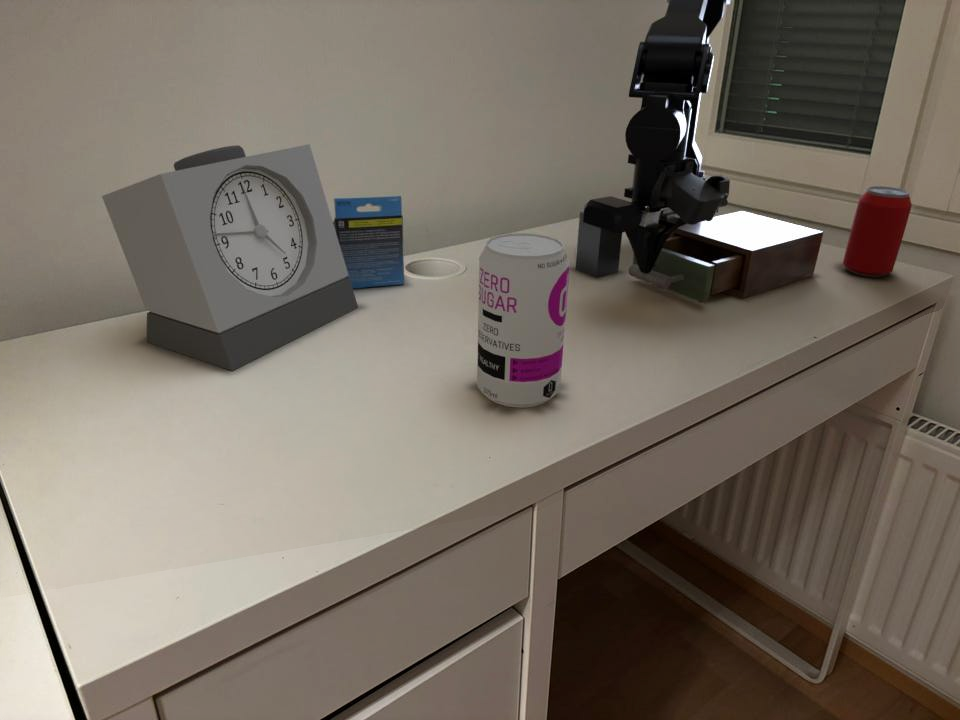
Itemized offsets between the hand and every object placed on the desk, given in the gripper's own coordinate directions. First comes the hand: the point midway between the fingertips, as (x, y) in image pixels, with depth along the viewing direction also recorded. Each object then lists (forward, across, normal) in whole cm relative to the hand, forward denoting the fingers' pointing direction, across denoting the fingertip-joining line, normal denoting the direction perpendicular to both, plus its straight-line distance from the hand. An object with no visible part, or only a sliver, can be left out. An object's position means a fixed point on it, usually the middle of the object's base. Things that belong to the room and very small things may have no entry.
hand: (645, 272), depth 91 cm
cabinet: (+4, +20, 0) cm, 21 cm away
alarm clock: (+4, -45, +21) cm, 49 cm away
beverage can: (+4, +37, -10) cm, 39 cm away
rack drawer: (+3, +10, 0) cm, 10 cm away
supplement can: (+4, -29, -10) cm, 31 cm away
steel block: (+4, +3, +12) cm, 13 cm away
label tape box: (+4, -27, +25) cm, 37 cm away
